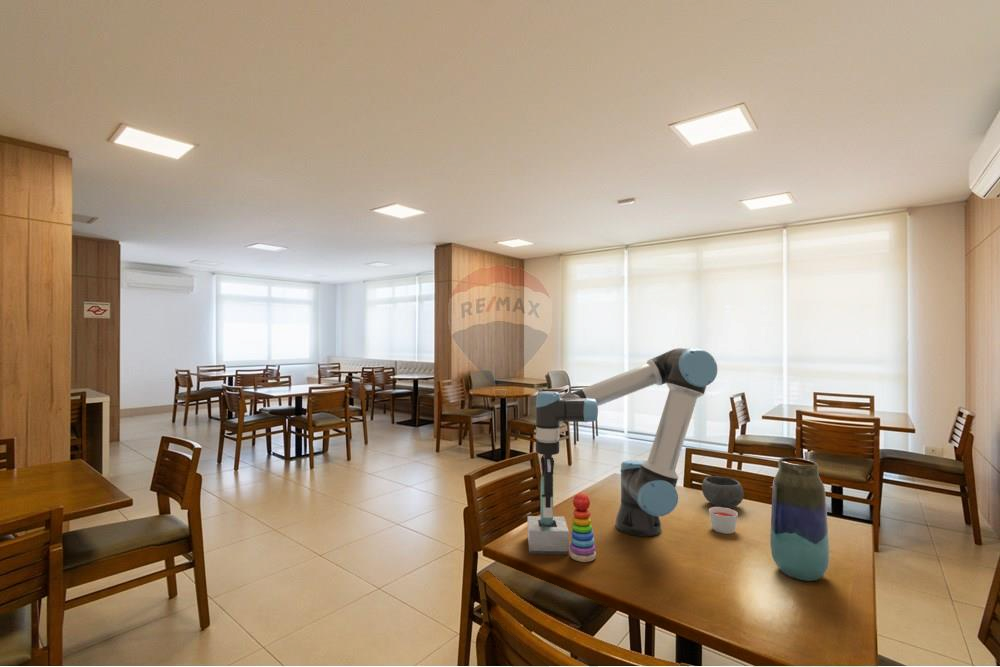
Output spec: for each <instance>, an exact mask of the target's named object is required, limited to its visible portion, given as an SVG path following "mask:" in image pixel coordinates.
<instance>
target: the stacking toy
mask: <svg viewBox="0 0 1000 667" xmlns="http://www.w3.org/2000/svg"><path fill="white" fill-rule="evenodd" d="M590 501H591V500H590V498H589V496H588V495H587V494H585V493H581V492H580V493H577V494H575V495H574V497H573V499H572V504H573V507H574V508H575V509H574V510H573V512H572V514H573V518H572V524H571V528H572V530H571V537H570V543H569V556H570V558H571V559H572V560H574V561H577V562H581V563H589V562H592V561H594V560H595V559H596V557H597V552H596V545H595V538H594V531H593V530H592V529H593V526H592V524H591V523H592V519H591V517H590V516H591V512H590V510H589V508H590V506H591V502H590Z"/></svg>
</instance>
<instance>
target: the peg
mask: <svg viewBox="0 0 1000 667" xmlns="http://www.w3.org/2000/svg"><path fill="white" fill-rule="evenodd" d="M542 495H544V476H543V477H542V476H541V477H540V516H541V518H540V522H541V523H542V524H544V525H551V524H553V516H554V496H553V497H552V518H545V517H543V497H542Z"/></svg>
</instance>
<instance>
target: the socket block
mask: <svg viewBox="0 0 1000 667" xmlns="http://www.w3.org/2000/svg"><path fill="white" fill-rule="evenodd" d="M540 518H541V515H539V516H538V515H536V516H535V515H527V543H528V544H527V545H528V554H529V555H565V556H566V555H569V556H570V554H569V551H570V533H569V532H570V530H569V528H568V524H567V521H566V518H565V516H562V515H561V516H558V515H557V516H554V515H553V524H551V525H544V524H542V523H541V522H540Z"/></svg>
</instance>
